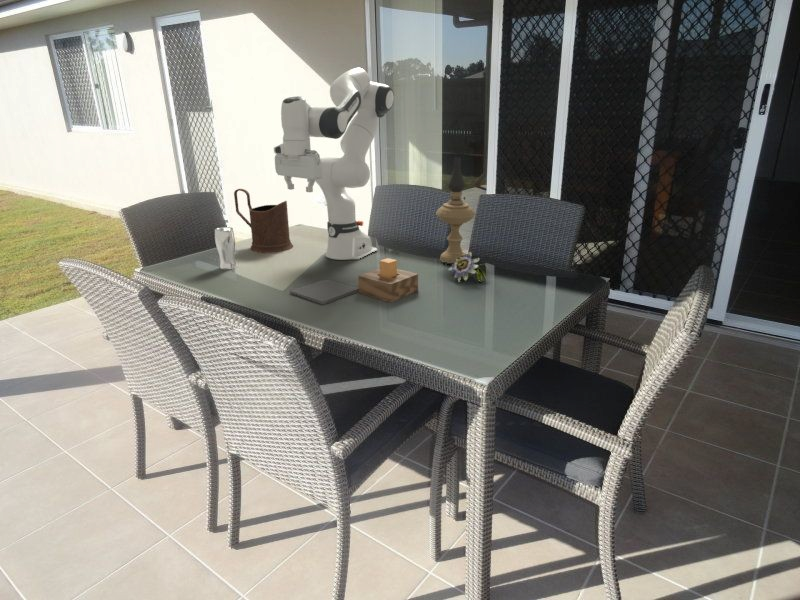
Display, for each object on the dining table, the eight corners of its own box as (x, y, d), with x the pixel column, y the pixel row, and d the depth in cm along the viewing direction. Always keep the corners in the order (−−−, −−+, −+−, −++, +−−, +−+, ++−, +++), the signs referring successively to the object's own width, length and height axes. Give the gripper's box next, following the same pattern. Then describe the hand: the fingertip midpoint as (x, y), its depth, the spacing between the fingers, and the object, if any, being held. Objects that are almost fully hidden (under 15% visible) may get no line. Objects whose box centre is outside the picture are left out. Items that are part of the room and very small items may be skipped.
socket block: (386, 282, 188) (386, 266, 185) (418, 291, 179) (418, 273, 177) (358, 292, 178) (358, 275, 175) (390, 302, 169) (390, 284, 167)
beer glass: (240, 265, 208) (236, 227, 203) (233, 270, 202) (229, 231, 196) (223, 264, 209) (218, 226, 204) (215, 269, 202) (210, 230, 197)
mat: (326, 281, 188) (325, 279, 188) (358, 291, 179) (358, 288, 178) (290, 293, 177) (290, 290, 177) (323, 304, 167) (322, 301, 167)
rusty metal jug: (283, 254, 223) (278, 193, 214) (230, 251, 228) (223, 192, 219) (299, 243, 240) (295, 187, 231) (250, 240, 245) (244, 185, 236)
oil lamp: (479, 264, 208) (485, 158, 194) (445, 268, 203) (448, 160, 189) (461, 254, 221) (465, 154, 207) (428, 258, 216) (430, 156, 202)
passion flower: (459, 296, 190) (440, 268, 189) (474, 283, 198) (456, 255, 197) (481, 285, 182) (462, 255, 181) (496, 271, 189) (477, 243, 188)
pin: (388, 286, 180) (387, 258, 177) (397, 289, 178) (396, 260, 174) (380, 289, 177) (379, 260, 174) (389, 292, 175) (388, 262, 172)
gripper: (325, 149, 174) (328, 192, 179) (284, 146, 186) (287, 186, 191) (311, 151, 170) (314, 195, 175) (270, 147, 182) (273, 189, 187)
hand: (300, 190), depth 183 cm, fingers open, 8 cm apart
